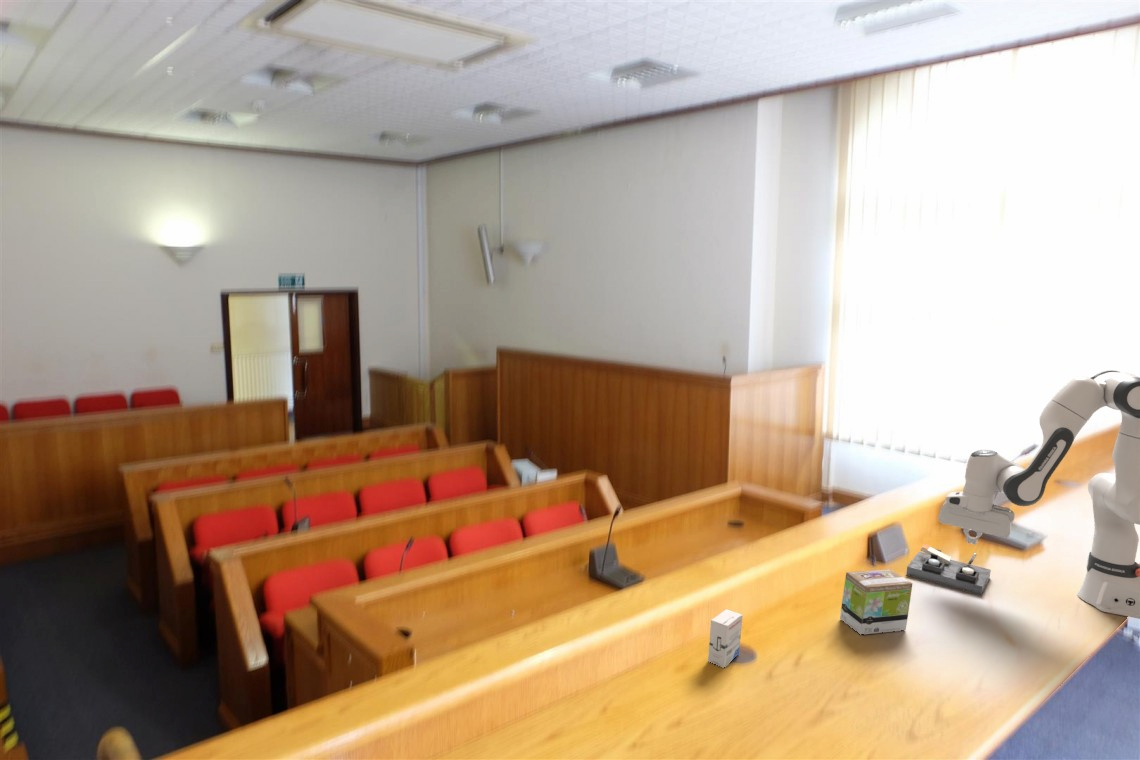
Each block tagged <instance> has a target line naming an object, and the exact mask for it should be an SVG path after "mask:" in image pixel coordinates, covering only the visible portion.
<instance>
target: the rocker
mask: <svg viewBox="0 0 1140 760" xmlns="http://www.w3.org/2000/svg"><path fill="white" fill-rule="evenodd" d="M938 550H939V549H938ZM938 550H936V548H934V547H931V546H930V545H928V544H926V543H924V544H923V545H922V546H921V549H920V552H922V553H926V554H929V555H931V554H935V555H938V559H939V560H941V561H943V562H945V563H947V564H948V563H949V562H950V560H952V556H950V555H947V554H946V553H943V552H942V551H941V552H940V551H938Z"/></svg>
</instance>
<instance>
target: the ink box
mask: <svg viewBox="0 0 1140 760" xmlns="http://www.w3.org/2000/svg"><path fill="white" fill-rule="evenodd" d="M742 626H743V614H741V613H739V612H736V611H733V610H732V609H731V610H730V609H728V608H726V609H724V610H723V611H722V612H720V613H719V614H718V615H716V616H715V617H713V618H712V619H710V630H709V643H708V656H707V657H708V658H707V662H708V663H710V662H711V663H710V664H712V663H713V665H714V664H716V665H715V666H717V665H718V666H717V667H719V666H721V667H723V668H722V669H725V668H727V666H729V665H730V664H729V663H730V662H731V661H732V660H733V659H734V658H735V657H736V656H737V655H738V656H740V646H741V637H742V636H741V635H742V628H743V627H742ZM738 656H737V657H738ZM737 657H736V658H737ZM736 658H735V659H736ZM735 659H734V660H735ZM734 660H733V661H734ZM733 661H732V662H733ZM721 667H720V668H721ZM724 667H725V668H724Z"/></svg>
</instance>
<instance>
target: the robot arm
mask: <svg viewBox="0 0 1140 760" xmlns="http://www.w3.org/2000/svg"><path fill="white" fill-rule="evenodd" d="M1103 407H1104V408H1105V407H1108V408H1110V409H1113V410H1116V411H1120V413H1121V422H1120V423H1121V424H1120V426H1119V429H1118V432H1117V437H1116V439H1115V443H1114V446H1113V449H1112V453H1111V458H1112V461H1113V464H1114V472H1113V473H1112V472H1099V473H1096V474H1095V475H1094V476H1092V477H1091V479H1090V480H1089V482H1088V485H1087V490H1088V493H1089V495H1090V498H1091V501H1092V511H1093V523H1094V531H1093V538H1092V544H1091V550H1090V551H1089V553H1088V557H1087V561H1086V573H1085V577H1084V578H1083V579H1084V580H1083V582H1082V585H1081V586H1080V589H1079V590H1078V591H1077V596H1078V598H1079V599H1080V600H1082V601H1084V602H1086V603H1088V604H1090V605H1092V606H1093V607H1095V608H1096V609H1097V610H1099V611H1101V612H1105V613H1109V614H1114V615H1117V616H1118V615H1119V616H1125V617H1128V618H1129V617H1130V618H1134V619H1138V620H1140V562H1137V561H1136V557H1137V551H1138V546H1139V542H1140V541H1139V540H1140V539H1139V538H1140V537H1139V534H1138V532H1137V530H1136V527H1135V526H1136V525H1139V526H1140V377H1139V376H1137V375H1135V374H1132V373H1128V372H1121V371H1117V370H1105V371H1101V372H1099V373H1097V374H1095V375H1094V376H1092V377H1088V376H1076V377H1074V378H1072V379H1071V380H1069V382H1067V383H1066V384H1065V385H1064V386H1063V387H1062V388H1061V389H1059V390H1058V392H1057V393H1055V395H1054V396H1053V397H1052V399H1051V400H1050V401H1048V403H1047V404H1046V406H1045V407H1044V408H1043V410H1042V412H1041V414H1040V416H1039V425H1040V428H1041V431H1042V435H1043V439H1042V443H1041V445H1040V448H1039V449H1038V451H1037V452H1036V454H1035V456H1034V457H1033V458H1032V459H1031V461H1030V462H1029V463H1028V465H1027V466H1026V467H1025V468H1024V467H1023V466H1022V465H1020V464H1018V463H1017V462H1013V461H1011V460H1008V459H1006V458H1005V457H1004V456H1001V455H1000V454H999V453H998V452H997V451H995V450H989V449H980V450H976V451H974V452H971V454H970V455H969V457H968V461H967V464H966V469H965V473H964V474H965V475H964V479H965V483H964V485H963V488H962V491H951V492H949V493H948V494H946V496H945V502H943V504H942V505H941V507H940V510H939V514H938V517H937V518H938V519H937V520H938V521H939V523H940V524H944V525H948V526H951V527H952V526H953V527H957V528H961V529H963V531H962V532H963V534H964V535H965V543H968V544H972V545H976V546H977V544H978V540H979V539H980V537H982V535H983V534H987V535H991V536H994V537H995V536H996V537H999V538H1004V539H1007V538H1008V537H1010V536H1011V533H1012V523H1013V522H1014V521H1015V512H1014V511H1013V510H1012V509H1011V508H1010V507H1007V506H1004V507H1003V506H1001V505H997V504H994V503H995V499H996V498H995V496H996V493H998V492H999V493H1002V494H1004V495H1005V497H1006V498H1007V499H1008V501H1009V502H1011V503H1012V504H1014V505H1016V506H1019V507H1030V506H1033V505H1035V504H1037V503H1038V502H1039V501H1040V500H1041V499H1042V497H1043V495H1044V493H1045V490H1046V487H1047V483H1048V481H1049V479H1050V478H1051V477H1052V476H1053V473H1054V472H1055V471H1056V470H1057V468H1058V466H1059V465H1060V464H1061V463H1062V461H1063V459H1064V458H1065V456H1066V455H1067V453H1068V452H1069V451H1070V449H1071V447H1072V446H1073V442H1074V441H1075V439H1076V437H1077V436H1078V434H1079V432H1080V431H1081V430H1082V429H1083V427H1085V425H1086V423H1087V422H1088V421H1089V420H1090V419H1091V418H1092V416H1093V415H1094V413H1096V412H1097V411H1098V410H1100V409H1102V408H1103ZM970 531H974V532H976V536H975V537H974V536H971V535H970V533H969V532H970Z"/></svg>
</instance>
